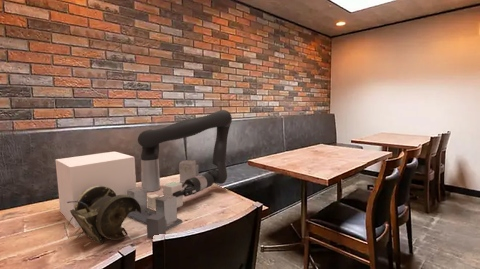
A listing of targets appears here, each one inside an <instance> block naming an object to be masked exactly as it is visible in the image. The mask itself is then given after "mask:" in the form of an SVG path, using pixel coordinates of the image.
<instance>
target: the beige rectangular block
mask: <svg viewBox="0 0 480 269" xmlns="http://www.w3.org/2000/svg"><path fill="white" fill-rule="evenodd" d="M159 197H161V196H160V195H158V194H156V193H154V194H150V195H147V208H149V209H152V210H154V209H156V200H155V199H156V198H159Z"/></svg>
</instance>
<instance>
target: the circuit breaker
mask: <svg viewBox="0 0 480 269" xmlns="http://www.w3.org/2000/svg"><path fill="white" fill-rule="evenodd" d="M178 164H179V166H178V171H179V183H182V184H184V182H185V180H187V179H189V178H192V177H195V176H200V175H199V164H197V160H193V159H188V160H186V159H185V160H184V159H183V160H182V161H180V162H179V163H178Z"/></svg>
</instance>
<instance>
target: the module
mask: <svg viewBox="0 0 480 269" xmlns="http://www.w3.org/2000/svg"><path fill="white" fill-rule="evenodd" d="M162 186H163V187H162V188H163V192H164V195H163V196H165V195H167V194H168V195H172V196H173V193H175V192H177V191H180V190H182V183H180V182H177V181H171V182H168V183H166V184H163V185H162ZM183 197H184V195H183V196H179V197H176V200H177V208H180V207H182V206H183V205H184V201H183Z"/></svg>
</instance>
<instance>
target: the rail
mask: <svg viewBox="0 0 480 269" xmlns="http://www.w3.org/2000/svg"><path fill="white" fill-rule="evenodd" d="M127 195H128V196H131V197H132V198H134V199H135V200H137V202H138V203H139V205H140V207H141V213H140V212H138V211H133V212H130V213H129V214H128V216H127V217H128V218H130V219H133V220H135V221H138V222H140V223H142V224H146V225H147V222H146V218H148V217H149V216H151V215H152V214H158V215H164V216H165V227H166V231H168V230H170V229H172V228H174V227H177V226H178V225H180V224H183V219H181V218H178V207H177V200H176V197H175V196H172V195H168V194H167V195H165V196H164V195H163V196H160V197H159V198H156V199H155V200H156V208H155V210H154V209H152V208H150V207H148V199H147V196H148V192H147V190H146V188H143V187H142V186H136V188H132V189H129V190H127Z"/></svg>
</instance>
